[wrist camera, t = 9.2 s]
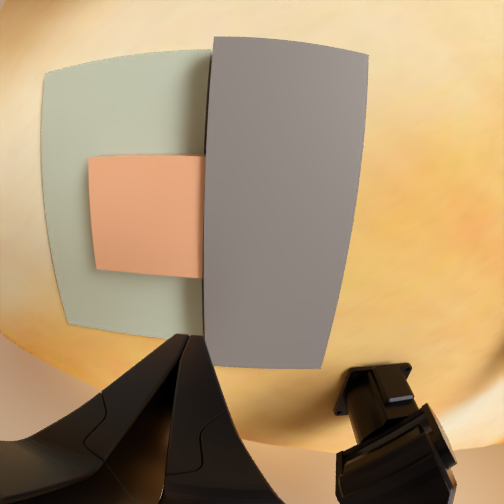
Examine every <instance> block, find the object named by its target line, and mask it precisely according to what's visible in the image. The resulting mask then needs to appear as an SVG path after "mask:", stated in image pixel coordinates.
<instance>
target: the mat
mask: <svg viewBox="0 0 504 504" xmlns="http://www.w3.org/2000/svg"><path fill="white" fill-rule="evenodd" d="M210 63H211V49H206V50H179V51H164V52H153V53H144V54H136V55H128V56H121V57H115V58H109V59H103V60H98V61H93V62H88V63H84V64H79V65H75V66H71V67H67V68H63V69H59V70H55V71H52V72H48V73H45V78H44V88H43V101H42V120H41V162H42V182H43V195H44V205H45V214H46V222H47V230H48V236H49V243H50V249H51V254H52V260H53V265H54V270H55V275H56V279H57V284H58V288H59V292H60V296H61V300H62V304H63V308H64V312H65V315H66V319H67V322H68V324H72V325H77V326H82V327H88V328H93V329H99V330H105V331H112V332H118V333H125V334H132V335H139V336H147V337H155V338H164V339H169V338H171V337H172V336H173V335H174V334H176V333H179V334H188V335H189V336H190V335H202V336H204V321H203V279H201V278H188V277H176V276H164V275H152V274H141V273H131V272H120V271H110V270H100V269H97V268H96V261H95V253H94V245H93V236H92V226H91V214H90V199H89V176H88V158H89V157H94V156H99V155H107V154H139V153H181V154H205V139H206V120H207V104H208V89H209V76H210Z"/></svg>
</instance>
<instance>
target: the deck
mask: <svg viewBox="0 0 504 504" xmlns="http://www.w3.org/2000/svg"><path fill="white" fill-rule="evenodd" d="M367 86H368V55H367V54H362V53H358V52H354V51H349V50H344V49H340V48H334V47H329V46H323V45H317V44H311V43H304V42H296V41H288V40H278V39H267V38H251V37H214V43H213V54H212V66H211V78H210V92H209V107H208V123H207V143H206V166H205V198H204V323H205V342H206V345H207V348H208V351H209V354H210V357H211V360H212V364H213V366H224V367H241V368H267V369H321V365H322V362H323V358H324V354H325V351H326V347H327V343H328V339H329V335H330V331H331V327H332V323H333V319H334V315H335V311H336V306H337V302H338V298H339V293H340V289H341V284H342V279H343V274H344V269H345V264H346V259H347V254H348V248H349V243H350V237H351V232H352V226H353V219H354V213H355V206H356V200H357V193H358V185H359V178H360V169H361V161H362V152H363V142H364V131H365V119H366V104H367Z"/></svg>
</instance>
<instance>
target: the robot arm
mask: <svg viewBox="0 0 504 504" xmlns="http://www.w3.org/2000/svg"><path fill="white" fill-rule="evenodd" d="M411 370H412V366H411V365H410V364H409V363H405V364H395V365H384V366H372V367H357V368H352V369H350V370H349V372H348V375H347V377H346V380H345V383H344V385H343V388H342V391H341V393H340V396H339V398H338V401H337V403H336V406H335V408H334V414H335V415H336V416H339V415H349V418H350V421H351V425H352V428H353V432H354V435H355V439H356V442H357V445H355V446H353V447H351V448H349V449H347V450H345V451H341V452H339V453H337V454H336V492H335V493H336V497H337V500H338V502H339V503H340V504H453V500H454V496H455V491H456V486H457V483H456V480H455V478H454V475H453V473H452V471H451V467H452V466H454V465H456V464H457V461H456V459H455V456H454V453H453V450H452V448H451V445H450V443H449V440H448V438H447V436H446V434H445V432H444V430H443V428H442V426H441V424H440V422H439V420H438V419H437V417H436V416H435V414H434V412H433V411H432V409H431V408H430V406H429V405H428V403H426V404H424V405H423V406H422V408H420V409H419V408H418V406H417V404H416V402H415V400H414V394H413V392H412V390H411V388H410V386H409V384H408V383H407V381H406V380H407V378H408V376H409V374H410V372H411ZM353 373H354V374H353ZM163 485H164V487H163ZM162 489H163V492H162ZM161 492H162V496H161ZM160 496H161V498H160ZM159 500H160V501H159ZM0 504H285V503H284V502H283V501H282V500H281V499H280V498H279V497H278V495H277V494H276V493H275V492H274V490H273V489H272V488H271V486H270V485H269V484H268V482H267V481H266V479H265V478H264V476H263V475H262V473H261V472H260V470H259V469H258V467H257V465H256V464H255V462H254V461H253V459H252V457H251V456H250V454H249V453H248V451H247V449H246V448H245V446H244V444H243V442H242V440H241V438H240V437H239V434H238V432H237V430H236V428H235V425H234V423H233V420H232V418H231V415H230V412H229V410H228V407H227V404H226V402H225V399H224V396H223V393H222V390H221V387H220V384H219V381H218V378H217V376H216V373H215V370H214V367H213V364H212V360H211V357H210V354H209V351H208V348H207V345H206V342H205V338H204V336H202V335H190V336H189V335H188V334H179V333H176V334H174V335H173V336H172V337H171V338H169V339H168V340H167V341H165V342H164V343H163V344H162V345H160V346H159V347H158V348H157V349H155V350H154V351H153V352H151V353H150V354H149V355H148V356H146V357H145V358H144V359H142V360H141V361H140V362H139V363H137V364H136V365H135V366H134V367H132V368H131V369H130V370H128V371H127V372H126V373H124V374H123V375H122V376H121V377H119V378H118V379H117V380H115V381H114V382H113V383H112V384H110V385H109V386H108V387H106V388H105V389H104V390H102V393H98V394H97V395H96V396H94V397H93V398H92V399H91V400H89V401H88V402H86V403H85V404H84V405H82V406H81V407H79V408H78V409H76V410H75V411H73V412H71V413H70V414H69V415H67V416H65V417H63V418H62V419H60V420H58V421H57V422H55V423H53V424H52V425H50V426H48V427H46V428H44V429H43V430H41V431H39V432H37V433H36V434H34V435H32V436H30V437H28V438H25V439H22V440H18V441H0Z"/></svg>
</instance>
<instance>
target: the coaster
mask: <svg viewBox="0 0 504 504" xmlns="http://www.w3.org/2000/svg"><path fill="white" fill-rule="evenodd" d="M205 166H206V154H181V153H139V154H107V155H99V156H94V157H89V158H88V176H89V199H90V214H91V226H92V236H93V245H94V253H95V261H96V268H97V269H100V270H110V271H120V272H131V273H141V274H152V275H164V276H176V277H188V278H201V279H203V275H204V198H205Z"/></svg>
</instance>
